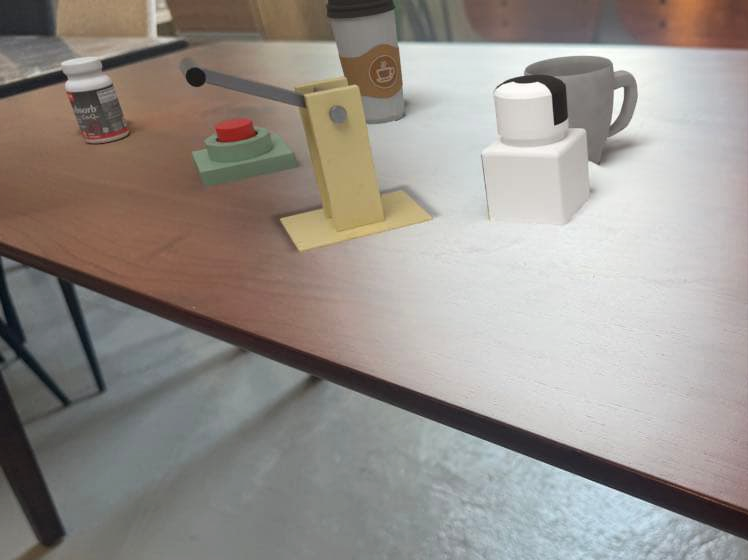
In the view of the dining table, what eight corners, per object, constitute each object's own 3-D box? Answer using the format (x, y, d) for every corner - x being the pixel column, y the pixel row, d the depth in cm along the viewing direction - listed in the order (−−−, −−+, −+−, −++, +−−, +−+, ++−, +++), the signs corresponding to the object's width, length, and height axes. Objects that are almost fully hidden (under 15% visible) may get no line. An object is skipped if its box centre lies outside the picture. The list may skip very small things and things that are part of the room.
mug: (555, 183, 85) (547, 81, 79) (518, 161, 91) (508, 66, 86) (659, 157, 88) (658, 58, 83) (616, 138, 95) (613, 45, 90)
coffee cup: (366, 131, 107) (340, -1, 98) (338, 119, 113) (311, -6, 104) (424, 115, 111) (404, -13, 102) (394, 105, 116) (372, -17, 108)
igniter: (206, 192, 92) (194, 155, 90) (196, 170, 99) (186, 135, 97) (298, 172, 95) (289, 135, 93) (283, 152, 102) (274, 118, 100)
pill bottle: (75, 144, 114) (45, 66, 109) (106, 131, 118) (78, 55, 113) (109, 144, 112) (80, 65, 107) (139, 131, 117) (112, 54, 111)
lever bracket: (302, 263, 73) (262, 110, 66) (282, 230, 80) (244, 89, 73) (434, 230, 77) (410, 82, 70) (404, 201, 84) (379, 64, 77)
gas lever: (183, 90, 65) (188, 58, 64) (177, 79, 69) (181, 48, 68) (350, 132, 72) (357, 103, 71) (336, 120, 76) (342, 92, 75)
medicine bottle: (520, 202, 81) (506, 69, 75) (591, 206, 79) (583, 68, 72) (489, 231, 76) (471, 91, 69) (565, 236, 73) (554, 91, 67)
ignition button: (221, 147, 93) (217, 131, 92) (217, 138, 96) (212, 123, 95) (259, 139, 94) (254, 123, 93) (253, 131, 97) (248, 116, 96)
